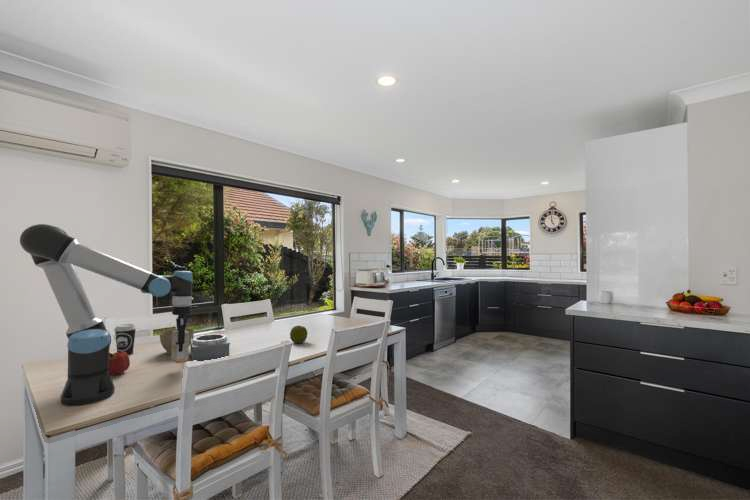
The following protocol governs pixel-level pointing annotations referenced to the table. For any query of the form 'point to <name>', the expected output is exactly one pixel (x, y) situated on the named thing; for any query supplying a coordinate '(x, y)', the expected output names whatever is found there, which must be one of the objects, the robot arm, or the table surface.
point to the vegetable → (118, 363)
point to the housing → (209, 347)
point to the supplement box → (174, 347)
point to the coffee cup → (125, 337)
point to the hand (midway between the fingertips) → (179, 355)
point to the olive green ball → (298, 334)
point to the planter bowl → (167, 338)
